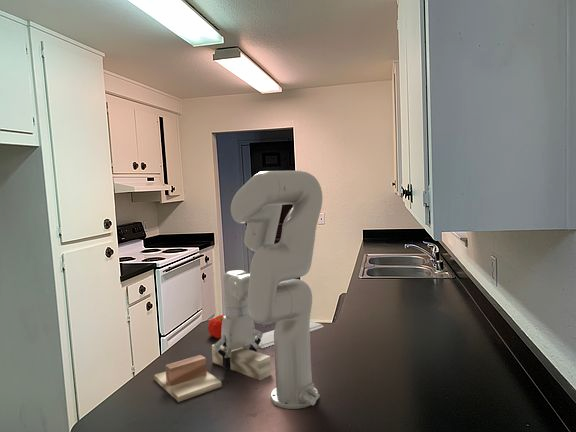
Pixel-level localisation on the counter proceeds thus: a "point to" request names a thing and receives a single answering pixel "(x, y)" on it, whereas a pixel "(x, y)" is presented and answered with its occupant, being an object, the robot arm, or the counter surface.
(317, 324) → the baseboard molding
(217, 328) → the tomato
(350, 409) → the counter surface
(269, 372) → the birch bar
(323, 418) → the counter surface
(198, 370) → the ridge stand
